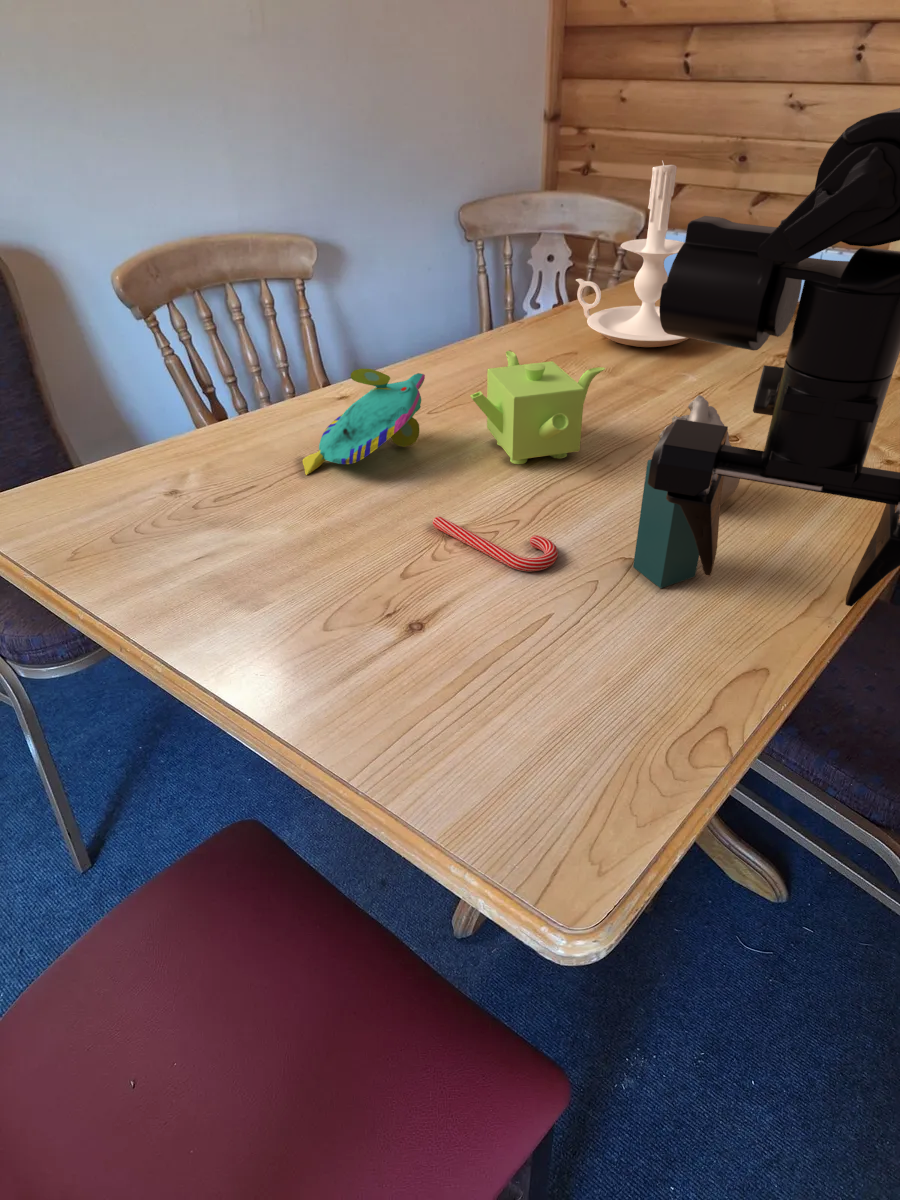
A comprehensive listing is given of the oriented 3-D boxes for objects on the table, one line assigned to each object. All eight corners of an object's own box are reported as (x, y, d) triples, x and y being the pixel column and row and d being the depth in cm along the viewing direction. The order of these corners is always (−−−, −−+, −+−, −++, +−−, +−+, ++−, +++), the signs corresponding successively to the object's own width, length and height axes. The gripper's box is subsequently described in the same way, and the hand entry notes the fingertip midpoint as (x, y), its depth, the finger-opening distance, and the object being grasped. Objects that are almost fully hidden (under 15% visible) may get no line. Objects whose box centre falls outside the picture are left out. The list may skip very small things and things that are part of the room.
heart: (644, 515, 87) (680, 417, 80) (639, 476, 95) (671, 383, 87) (732, 533, 87) (776, 436, 80) (720, 493, 95) (759, 401, 87)
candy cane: (467, 510, 90) (467, 498, 89) (569, 557, 81) (570, 545, 80) (429, 529, 87) (429, 517, 86) (531, 581, 78) (531, 568, 77)
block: (695, 576, 78) (716, 468, 71) (660, 588, 76) (678, 478, 69) (666, 556, 81) (684, 450, 74) (632, 567, 80) (647, 459, 72)
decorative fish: (393, 325, 101) (422, 360, 89) (438, 402, 108) (470, 443, 96) (269, 408, 102) (280, 453, 90) (322, 478, 110) (339, 528, 98)
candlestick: (600, 313, 152) (614, 149, 136) (722, 334, 140) (754, 156, 123) (544, 341, 139) (552, 163, 123) (673, 367, 127) (702, 173, 110)
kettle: (505, 419, 111) (508, 340, 104) (600, 437, 106) (609, 355, 99) (457, 460, 100) (456, 375, 94) (560, 482, 95) (567, 394, 88)
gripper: (1011, 341, 47) (923, 557, 56) (698, 310, 54) (665, 508, 63) (1035, 407, 39) (929, 647, 48) (663, 361, 46) (632, 580, 55)
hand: (776, 587), depth 54 cm, fingers open, 9 cm apart
